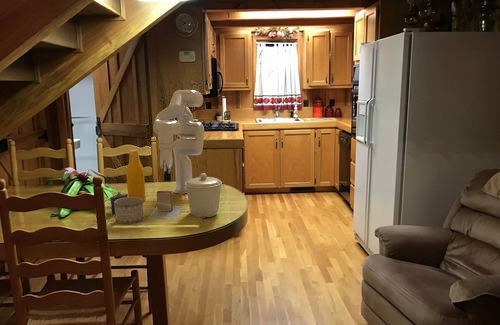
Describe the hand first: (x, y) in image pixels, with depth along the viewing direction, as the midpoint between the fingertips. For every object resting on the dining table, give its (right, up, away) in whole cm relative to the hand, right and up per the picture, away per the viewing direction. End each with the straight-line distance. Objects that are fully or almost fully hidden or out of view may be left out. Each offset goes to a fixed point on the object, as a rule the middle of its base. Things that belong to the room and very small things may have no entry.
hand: (167, 180), depth 210 cm
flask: (-23, -16, -5) cm, 28 cm away
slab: (0, -15, -7) cm, 16 cm away
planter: (-14, -19, -19) cm, 30 cm away
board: (+1, -16, -8) cm, 18 cm away
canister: (+20, -17, -10) cm, 28 cm away
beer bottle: (-19, -13, +10) cm, 25 cm away
